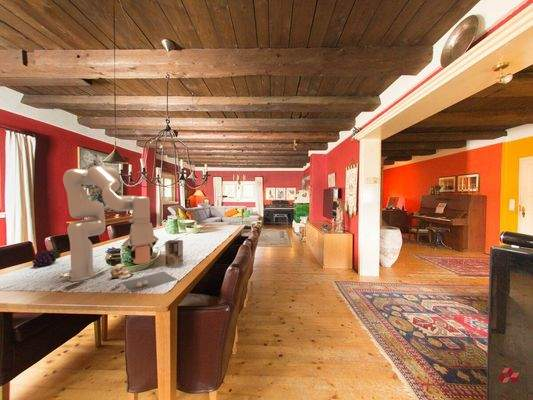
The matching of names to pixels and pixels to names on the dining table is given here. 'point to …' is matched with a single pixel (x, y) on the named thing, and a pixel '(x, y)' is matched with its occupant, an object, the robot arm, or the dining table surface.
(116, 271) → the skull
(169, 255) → the coffee box
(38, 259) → the fruit
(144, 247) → the cup
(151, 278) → the mat
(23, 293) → the dining table surface
